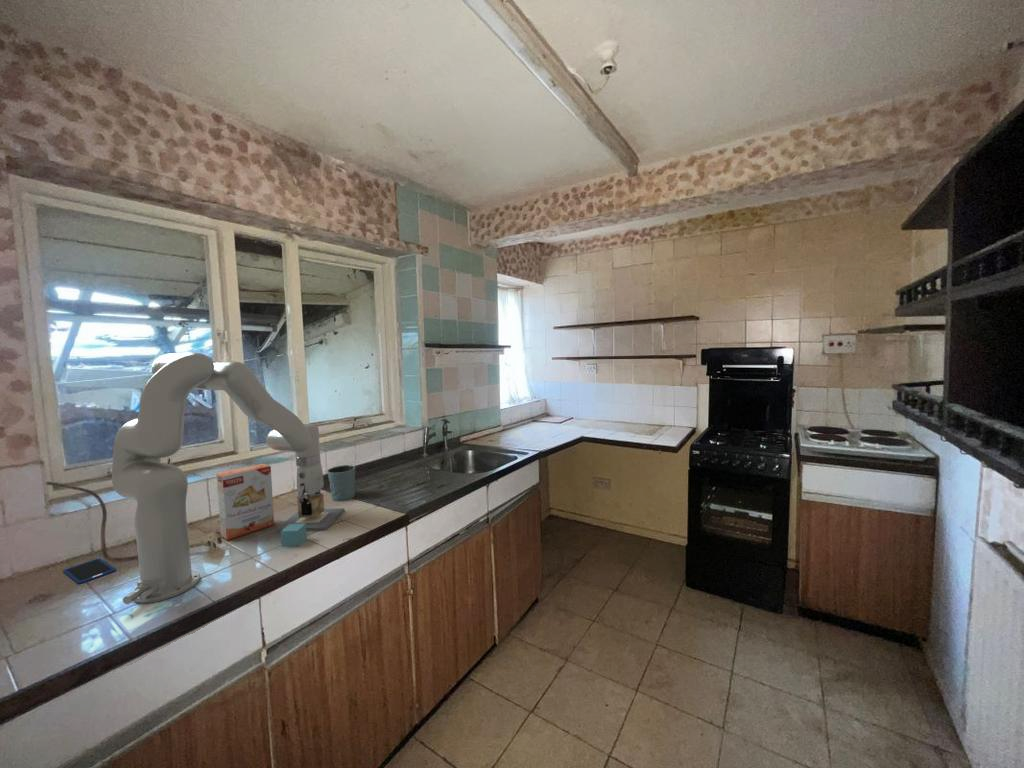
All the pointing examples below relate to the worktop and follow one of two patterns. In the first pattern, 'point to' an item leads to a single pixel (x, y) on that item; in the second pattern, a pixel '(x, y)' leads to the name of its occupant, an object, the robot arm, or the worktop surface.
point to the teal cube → (293, 535)
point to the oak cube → (313, 506)
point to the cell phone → (89, 571)
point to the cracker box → (245, 500)
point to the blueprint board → (314, 520)
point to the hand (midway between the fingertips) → (311, 510)
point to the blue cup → (342, 482)
